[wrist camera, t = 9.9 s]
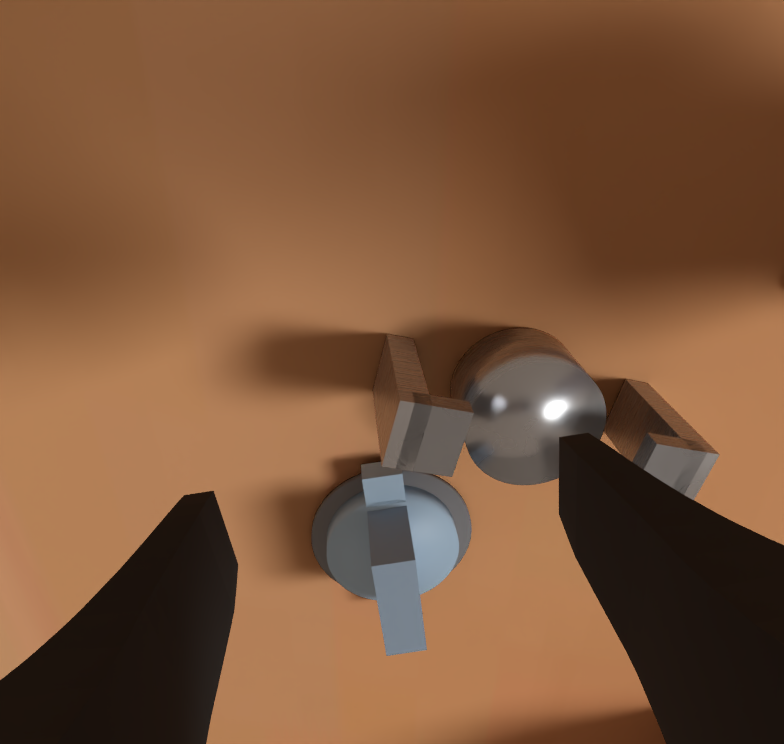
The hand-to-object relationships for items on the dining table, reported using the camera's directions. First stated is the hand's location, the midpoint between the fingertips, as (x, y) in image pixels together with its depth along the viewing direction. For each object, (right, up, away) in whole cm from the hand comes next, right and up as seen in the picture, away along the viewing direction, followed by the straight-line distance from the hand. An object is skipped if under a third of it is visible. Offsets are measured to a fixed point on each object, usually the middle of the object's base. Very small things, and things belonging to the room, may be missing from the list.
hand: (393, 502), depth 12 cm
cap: (0, -4, +14) cm, 14 cm away
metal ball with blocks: (+5, +2, +11) cm, 12 cm away
